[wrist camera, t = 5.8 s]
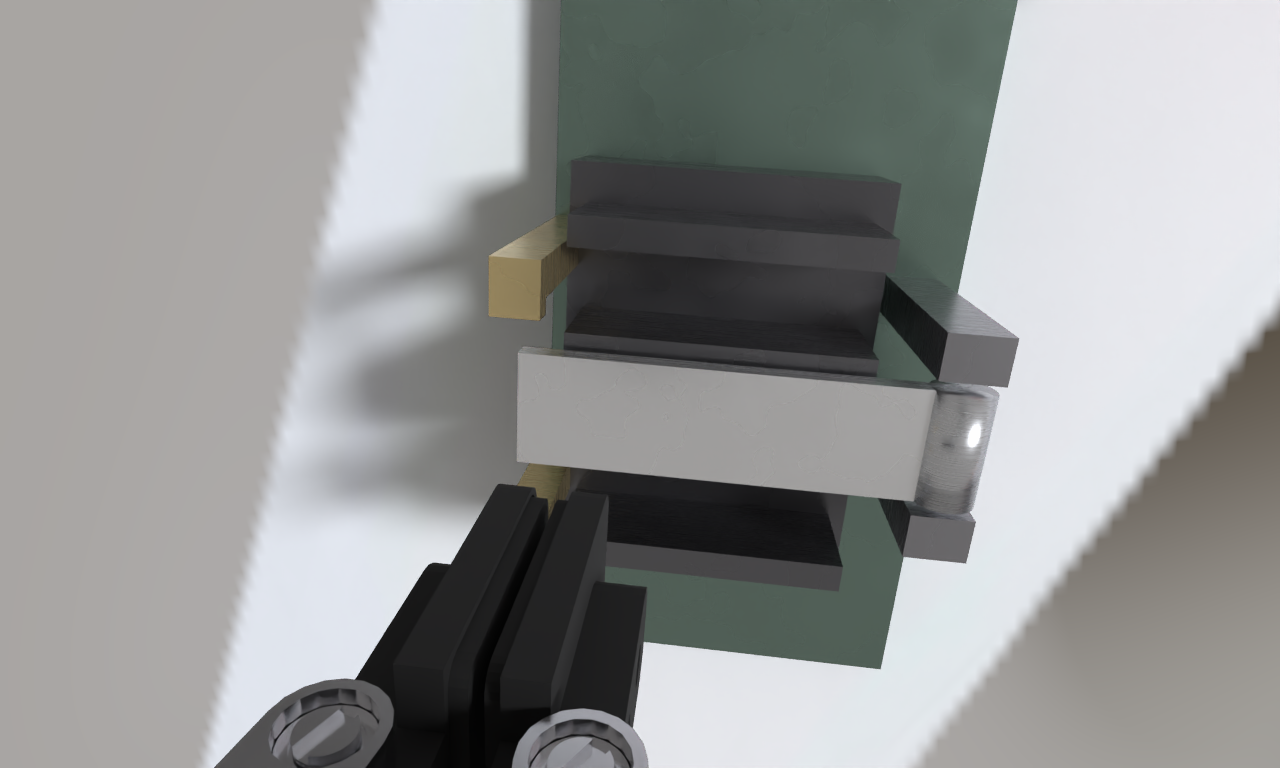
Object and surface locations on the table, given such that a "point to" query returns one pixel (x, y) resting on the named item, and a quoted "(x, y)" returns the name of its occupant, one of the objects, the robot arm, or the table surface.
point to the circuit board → (767, 276)
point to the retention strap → (755, 426)
